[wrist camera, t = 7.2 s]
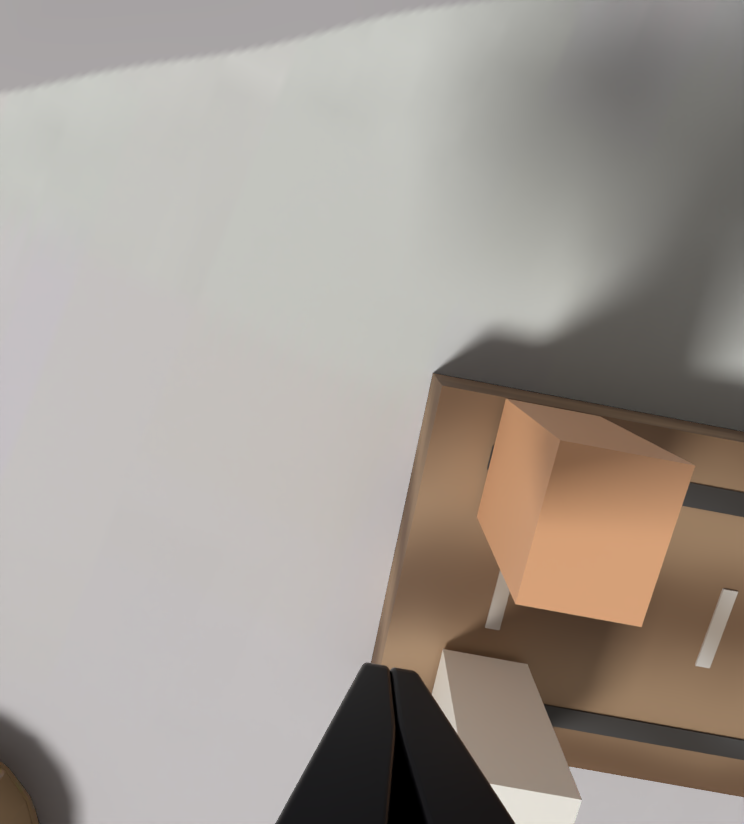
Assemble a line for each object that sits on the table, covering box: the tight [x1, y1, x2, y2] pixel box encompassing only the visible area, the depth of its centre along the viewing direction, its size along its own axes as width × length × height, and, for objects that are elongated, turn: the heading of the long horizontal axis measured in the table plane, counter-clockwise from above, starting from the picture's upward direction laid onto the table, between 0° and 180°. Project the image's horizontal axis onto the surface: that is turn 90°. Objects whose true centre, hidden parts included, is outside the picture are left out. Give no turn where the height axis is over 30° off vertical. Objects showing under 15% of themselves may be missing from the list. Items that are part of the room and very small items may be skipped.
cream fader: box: [432, 649, 582, 824], centre depth 16 cm, size 4×3×5 cm
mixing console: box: [371, 373, 744, 797], centre depth 19 cm, size 13×22×3 cm, turn 79°
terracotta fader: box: [477, 399, 695, 627], centre depth 14 cm, size 4×3×5 cm
